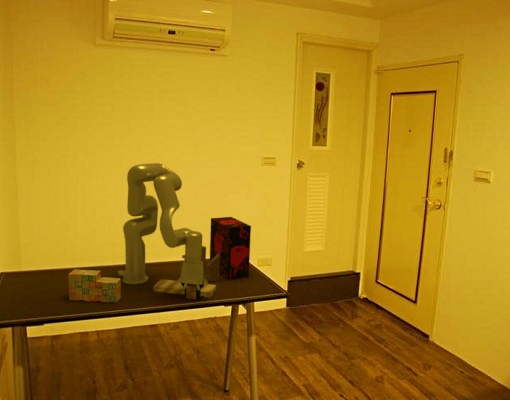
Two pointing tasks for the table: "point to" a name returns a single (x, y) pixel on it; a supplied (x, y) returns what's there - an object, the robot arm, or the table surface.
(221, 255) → the box
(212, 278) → the brown angled bracket
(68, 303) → the table surface
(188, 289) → the gauge
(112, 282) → the stack of blocks
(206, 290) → the board
